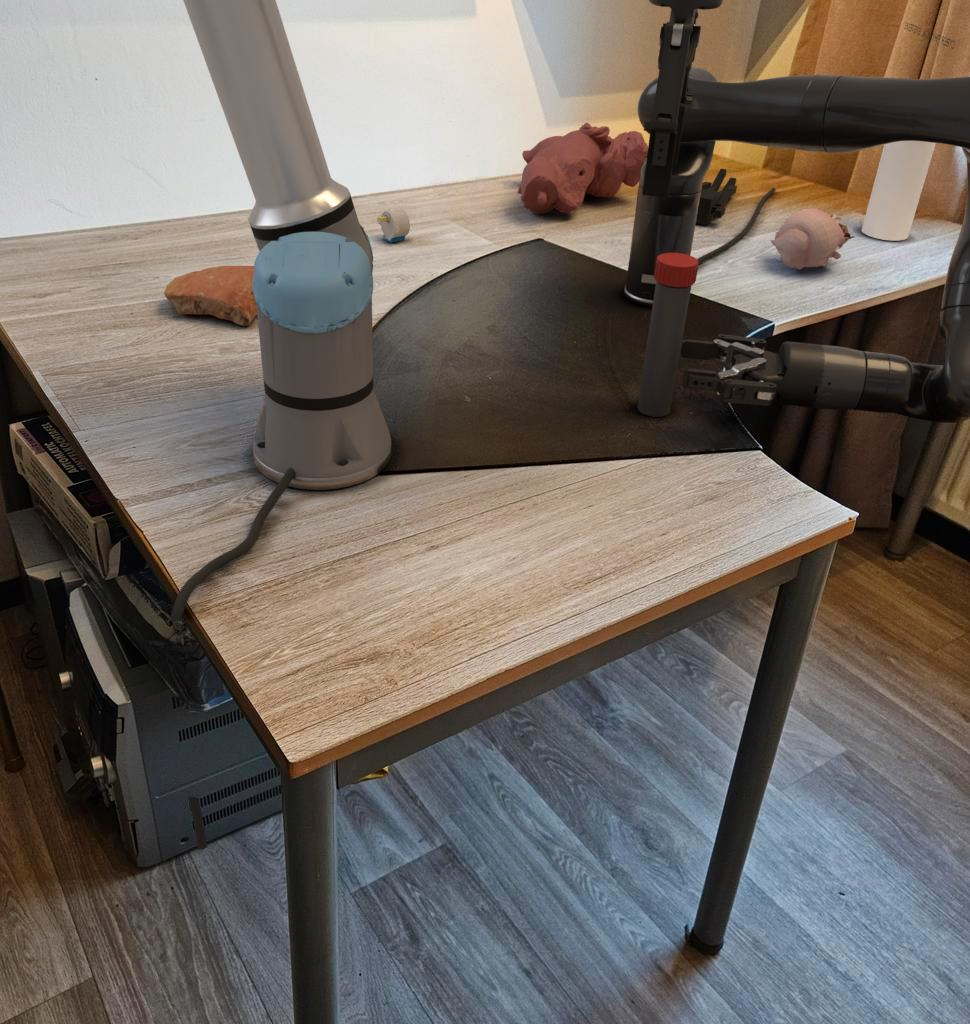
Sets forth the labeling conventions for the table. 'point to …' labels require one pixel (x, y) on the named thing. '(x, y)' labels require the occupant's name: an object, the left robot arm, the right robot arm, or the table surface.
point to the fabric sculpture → (580, 168)
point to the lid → (676, 269)
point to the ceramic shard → (216, 293)
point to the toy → (810, 238)
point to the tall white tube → (898, 185)
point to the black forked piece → (714, 198)
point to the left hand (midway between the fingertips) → (660, 179)
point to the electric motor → (394, 225)
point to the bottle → (663, 349)
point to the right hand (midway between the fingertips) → (682, 362)
